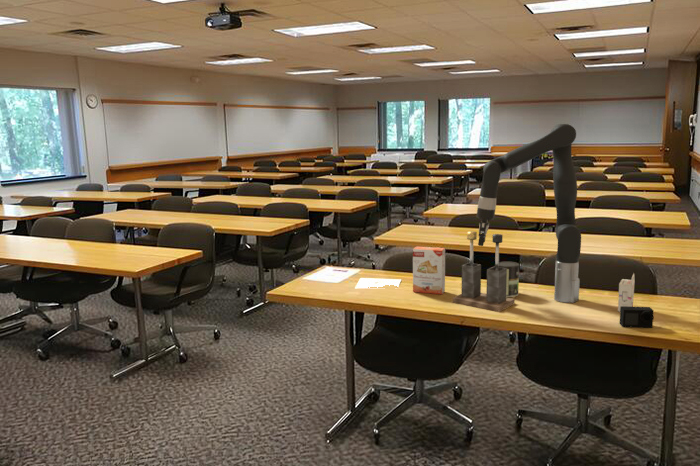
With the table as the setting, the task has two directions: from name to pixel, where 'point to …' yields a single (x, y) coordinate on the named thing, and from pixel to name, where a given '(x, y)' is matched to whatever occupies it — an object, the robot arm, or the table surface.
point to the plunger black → (497, 248)
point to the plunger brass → (471, 244)
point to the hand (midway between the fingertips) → (481, 243)
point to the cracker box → (429, 270)
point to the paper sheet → (377, 282)
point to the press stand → (495, 288)
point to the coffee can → (511, 277)
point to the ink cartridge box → (626, 292)
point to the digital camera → (636, 317)
